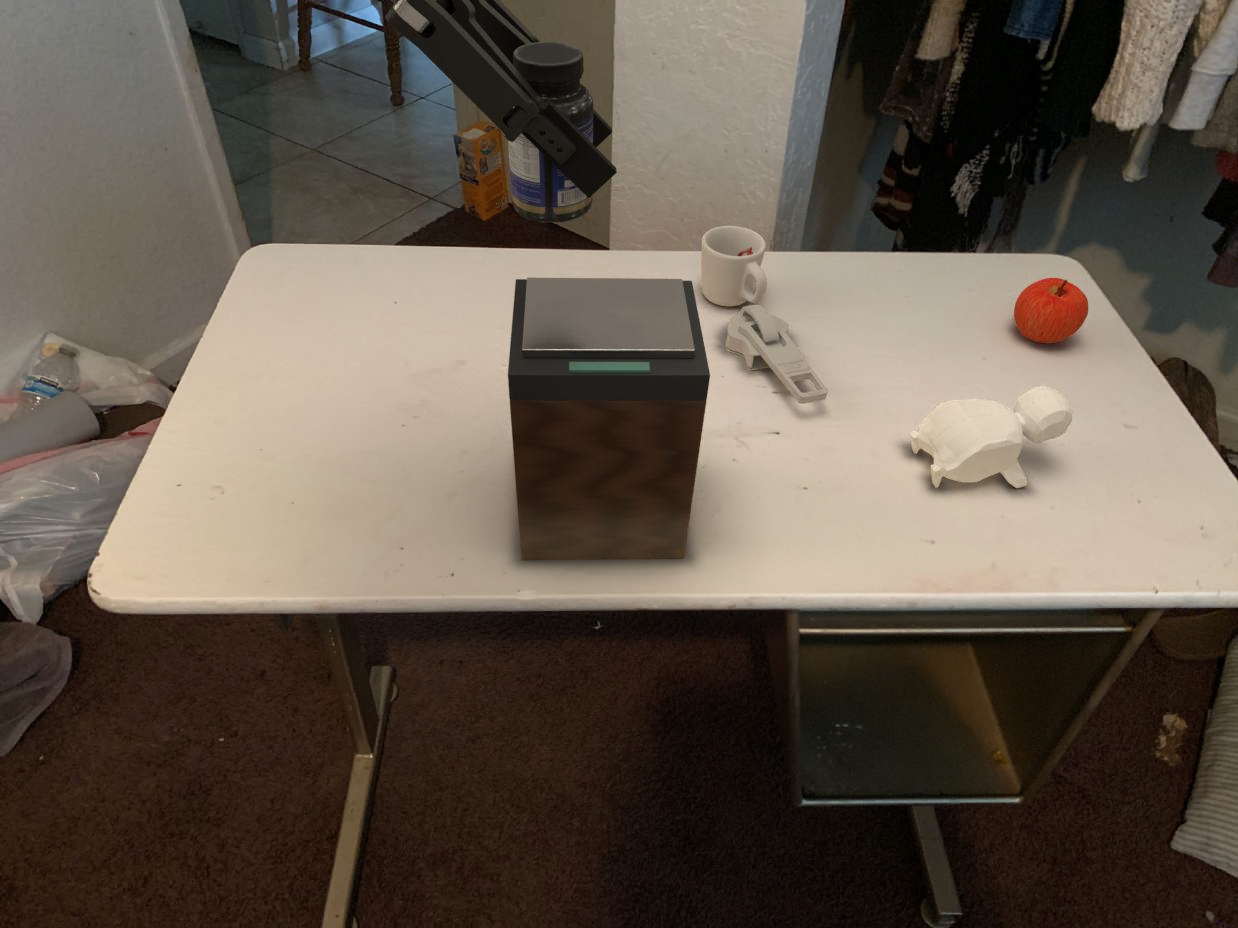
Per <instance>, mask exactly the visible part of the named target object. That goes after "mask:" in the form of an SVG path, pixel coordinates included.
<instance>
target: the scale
mask: <svg viewBox="0 0 1238 928" xmlns="http://www.w3.org/2000/svg"><path fill="white" fill-rule="evenodd" d="M507 366H508V368H507V382H508V383H507V384H508V396H509V397H508V398H509V402H510V401H706V402H707V401H708V395H709V394H708V393H709V386H710V378H711V372H710V367H709V362H708V357H707V351H706V347H705V342H704V337H703V331H702V326H701V320H700V316H699V311H698V305H697V300H696V295H695V289H694V285H693V280H683V279H682V278H637V277H635V278H630V277H629V278H628V277H627V278H625V277H624V278H623V277H622V278H621V277H620V278H619V277H617V278H616V277H615V278H614V277H526V278H522V279H521V278H516V279H515V285H514V296H513V307H512V320H511V333H510V343H509V356H508V365H507Z"/></svg>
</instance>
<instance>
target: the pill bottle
mask: <svg viewBox="0 0 1238 928" xmlns="http://www.w3.org/2000/svg"><path fill="white" fill-rule="evenodd" d="M513 64H514V67H515V68H516V69H517V71H518V72H519V73H520V74H521V75H522V76H523V78H524V79H525V80H526V81H527V82H528V84H529V85H530V86H531V87H532V88H533V90H534V91H535V92H536V93H537V94H538V96H540V97H541V98H542V99H543V100H544V103H546V102H547V101H548V100H550V101H551V102H552V103H553V104H554V105H555V106H556V107H557V108H558V109H559V110H560V111H561V112H562V113H563V114H564V115H565V116H566V117H567V118H568V119H569V120H570V121H571V122H572V123H573V124H574V125H575V126H576V127H577V128H578V129H579V130H580V131H581V132H582V133H583V134H584V135H585V137H586V138H587V139H588V140H589V141H590V142H591V143H592V144H593V109H594V100H593V99H594V98H593V96H592V93H591V91H589V89H588V88H587V87H586V86H585V85H583V84H582V83H581V79H582V77H583V75H584V71H585V68H584V53H583V51H582V50H581V49H580V48H579V47H577V46H575V45H573V44H570V43H564V42H557V41H540V42H535V43H529V44H526V45H523V46H520V47H518V48H517V49H516V50H515V51H514V54H513ZM514 107H515V106H514ZM514 107H513V108H514ZM513 108H512V109H513ZM507 149H508V162H509V177H510V179H509V180H510V193H511V204H512V207H513V209H514V211H515V212H516V213H517V214H519V215H520V216H521V217H523V218H525V219H527V220H529V221H532V222H536V223H554V224H555V223H557V224H558V223H565V222H570V221H573V220H577V219H579V218H581V217H583V216H585V214H587V213H588V212H589V211H590V210H591V207H592V205H593V195H592V196H591V197H590V198H588V197H587V196H586V195H585V194H584V193H583V192H582V191H581V190H580V189H579V188H578V187H577V186H576V185H575V184H574V183H573V182H572V181H570V180H569V179H568V178H567V177H566V176H565V175H564V174H563V173H562V172H561V171H560V170H559V169H558V168H557V167H556V166H555V165H554V164H553V163H552V162H551V161H550V160H549V159H548V158H547V157H546V156H545V155H544V154H543V153H542V152H540V151H539V150H538V149H537V148H536V147H535V146H534V145H533V144H532V143H531V142H530V141H529V140H528V139H527V138H526V137H525V136H524V135H523V134H522V133H521V134H520V136H519V137H518V138H517V139H516V140H515V141H514V142H510V141H509V140H507Z"/></svg>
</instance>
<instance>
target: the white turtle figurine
mask: <svg viewBox="0 0 1238 928" xmlns="http://www.w3.org/2000/svg"><path fill="white" fill-rule="evenodd" d="M1069 401H1070V400H1068V398H1067V397H1066V396H1065V395H1063V393H1062V392H1061V391H1058V390H1057V389H1054V388H1052V387H1049V386H1048V385H1039V386H1035V387H1032V388H1031V389H1029V390H1027V391H1026V392H1024V393H1023V394H1021V395H1020V396H1019V397H1017V398H1016V400H1015V402H1014V406H1013V410H1012V409H1011V408H1010V407H1008V406H1007V405H1005V404H1003V403H1001V402H999V401H998V400H994V399H982V398H977V397H972V398H970V399H969V398H967V399H966V398H965V399H950V400H945V401H943V402H941V403H940V404H938V405H937V406H935V407H934V408H933V409H932V410H931V411H930V412H929V413H928V415H927V416H926V417H925V418H923V420H922V421H921V422H920V423H919V425H918V427H917V430H910V432H909V435H910V438H911V440H910V445H911V451H912V452H913V454H914V455H917V454H918V452H919V450H923V451H924V452H926V453H927V454H929V455H930V456H931V457H932V459H933V464H931V465H930V475H931V483H932V484H933V486H934V488H935V489H937V488H939V486H940V484H941V482H942V478H946V479H948V480H952V481H955V482H960V483H977V482H980V481H982V480H984V479H987V478H988V477H991V476H993V475H994V476H995V475H996V474H998V473H1000V474H1001V475H1002V477H1003V478H1004V479H1005V480H1006V482H1007V483H1008V484H1010V485H1011V486H1012V487H1014V488H1016V489H1020V488H1023V487H1025V486H1027V485H1028V479H1027V477H1026V474H1025V472H1024V471H1023V469H1022V467H1021V465H1020V463H1019V461H1018V458H1019V456H1020V453H1021V451H1022V448H1023V444H1024V437H1025V438H1026V439H1027V440H1028V441H1031V442H1032V443H1034V444H1036V445H1038V444H1039V445H1040V444H1041V443H1043V442H1045V441H1049V440H1053V439H1056V438H1058V437H1060V436H1062V435H1064V434H1065V433H1066V432H1067V430H1068V428H1069V427H1070V425H1071V423H1072V421H1073V408H1072V405H1071V403H1070V402H1069Z"/></svg>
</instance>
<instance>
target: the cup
mask: <svg viewBox="0 0 1238 928" xmlns="http://www.w3.org/2000/svg"><path fill="white" fill-rule="evenodd" d="M700 246H701V257H700V265H701V266H700V268H701V269H700V276H701V277H700V283H701V284H700V285H701V291H702V294H703V296H704V298H706V299H707V300H708V301H709V302H710V303H712V304H715V305H718V306H721V307H736V306H740V305H743V304H745V303H746V302H749V303H751V304H753V303H754V304H755V303H758V302H761V300H763V298H764V297H765V294H766V293H767V288H768V279H767V276H766V273H765V271H764V270H763V268H761V266H762V263H763V260H764V256H765V253H766V250H767V249H766V248H767V244H766V241H765V239H764V238H763V237H762V236H761V234H759V233H758V232H756V231H754V230H752V229H751V228H748V227H747V228H746V227H743V226H737V225H722V226H717V227H713V228H711V229H708V230H707V231H706V232H705V233H704V234H703V236H702V238H701V245H700ZM754 290H755V292H754Z"/></svg>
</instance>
